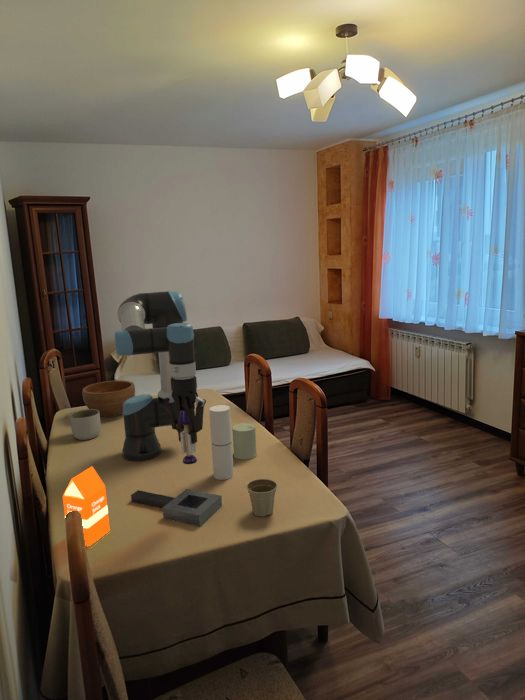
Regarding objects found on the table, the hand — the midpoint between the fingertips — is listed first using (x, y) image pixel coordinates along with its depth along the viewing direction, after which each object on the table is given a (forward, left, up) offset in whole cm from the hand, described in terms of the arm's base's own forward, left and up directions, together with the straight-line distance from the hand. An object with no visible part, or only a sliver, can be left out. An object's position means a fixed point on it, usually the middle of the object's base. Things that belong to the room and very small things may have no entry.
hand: (188, 452), depth 151 cm
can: (-5, +45, -20) cm, 50 cm away
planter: (-81, +39, -20) cm, 92 cm away
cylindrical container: (-4, +26, -20) cm, 33 cm away
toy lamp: (0, 0, -3) cm, 3 cm away
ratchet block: (-8, 0, -20) cm, 21 cm away
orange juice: (-20, -23, -20) cm, 36 cm away
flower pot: (+20, +8, -20) cm, 29 cm away
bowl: (-91, +66, -20) cm, 114 cm away
